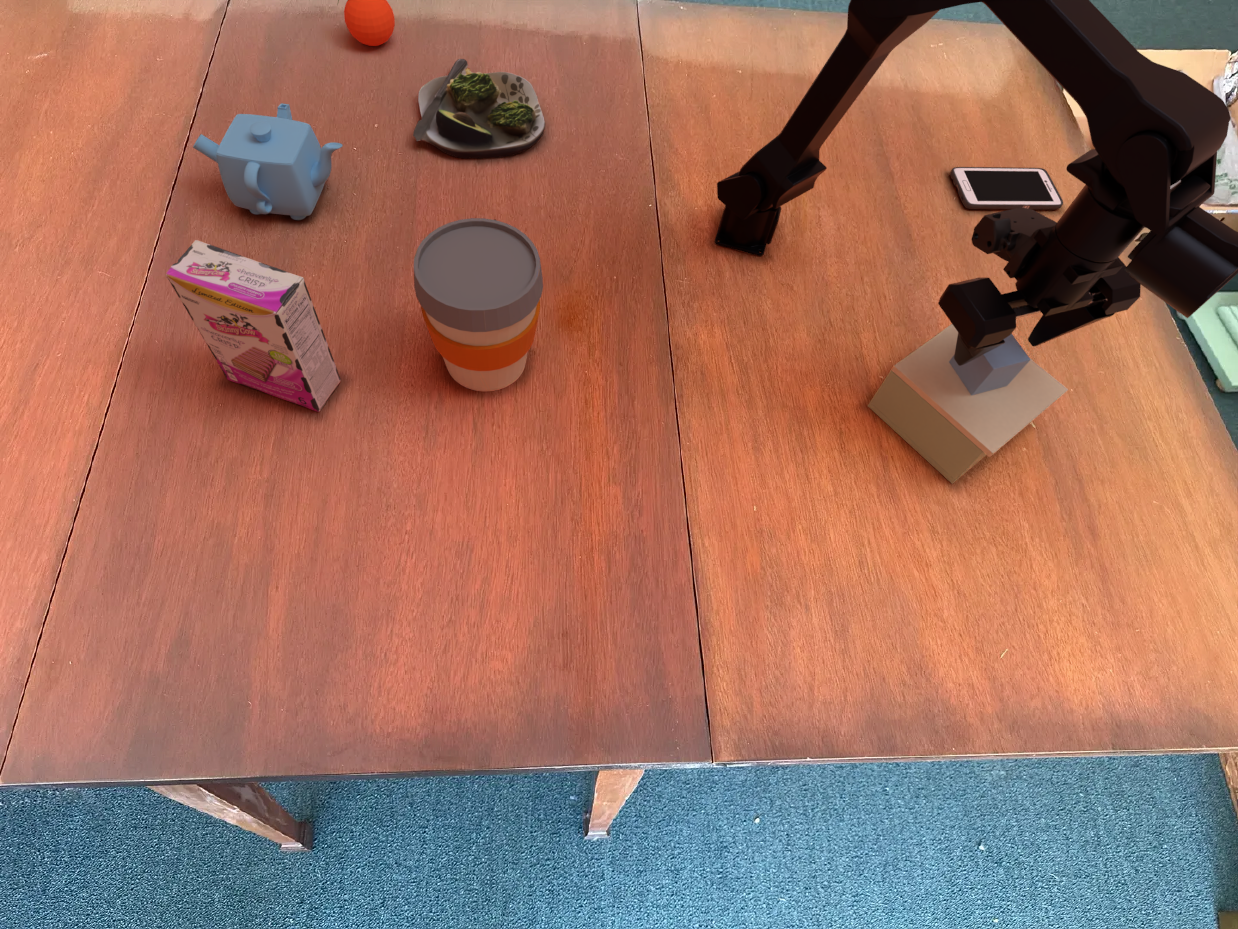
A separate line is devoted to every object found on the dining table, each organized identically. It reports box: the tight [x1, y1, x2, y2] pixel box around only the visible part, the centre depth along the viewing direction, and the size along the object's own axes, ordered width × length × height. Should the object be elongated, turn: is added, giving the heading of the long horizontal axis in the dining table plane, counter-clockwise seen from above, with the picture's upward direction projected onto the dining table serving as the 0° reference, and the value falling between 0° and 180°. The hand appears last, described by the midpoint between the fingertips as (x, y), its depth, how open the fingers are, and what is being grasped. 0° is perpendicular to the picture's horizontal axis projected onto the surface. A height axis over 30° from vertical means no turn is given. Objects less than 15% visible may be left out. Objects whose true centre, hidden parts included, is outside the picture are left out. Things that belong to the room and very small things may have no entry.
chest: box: [867, 369, 987, 485], centre depth 86 cm, size 13×14×7 cm
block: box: [949, 332, 1030, 395], centre depth 81 cm, size 5×5×5 cm
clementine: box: [336, 0, 396, 47], centre depth 111 cm, size 8×7×7 cm
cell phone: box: [949, 166, 1064, 210], centre depth 110 cm, size 8×15×1 cm, turn 96°
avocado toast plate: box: [412, 58, 546, 159], centre depth 106 cm, size 19×18×5 cm
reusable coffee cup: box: [413, 217, 544, 392], centre depth 81 cm, size 13×13×15 cm
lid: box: [890, 323, 1069, 458], centre depth 83 cm, size 13×14×1 cm
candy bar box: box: [165, 239, 342, 413], centre depth 76 cm, size 11×5×16 cm, turn 71°
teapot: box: [192, 103, 344, 221], centre depth 93 cm, size 18×14×10 cm
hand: (995, 352), depth 80 cm, fingers open, 9 cm apart
